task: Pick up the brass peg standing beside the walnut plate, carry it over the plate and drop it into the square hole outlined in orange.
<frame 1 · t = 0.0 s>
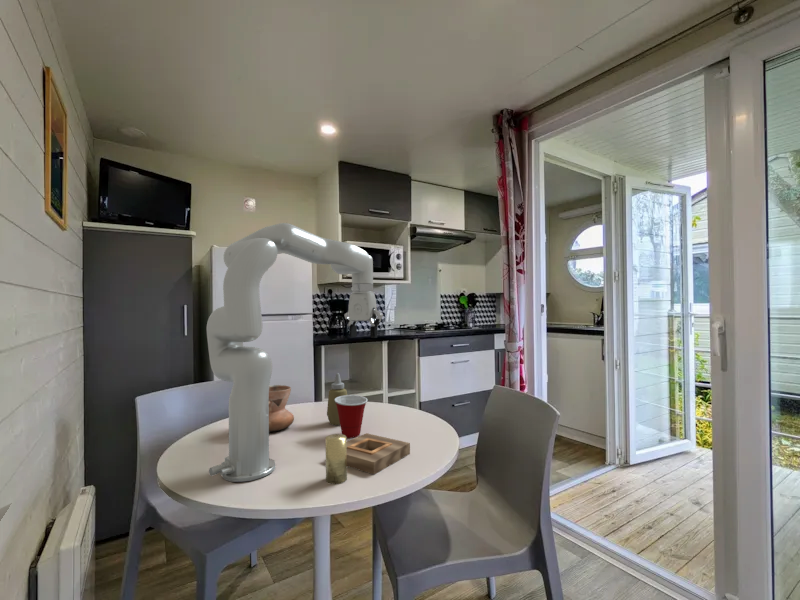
hand: (363, 337, 133), 31 cm above the table, tool pointing down, fingers open, 9 cm apart
brass peg: (336, 479, 89), on the table
plastic cup: (351, 435, 122), on the table
walnut plate: (370, 457, 103), on the table
squeeze bottle: (338, 424, 135), on the table
ceramic jug: (273, 428, 131), on the table
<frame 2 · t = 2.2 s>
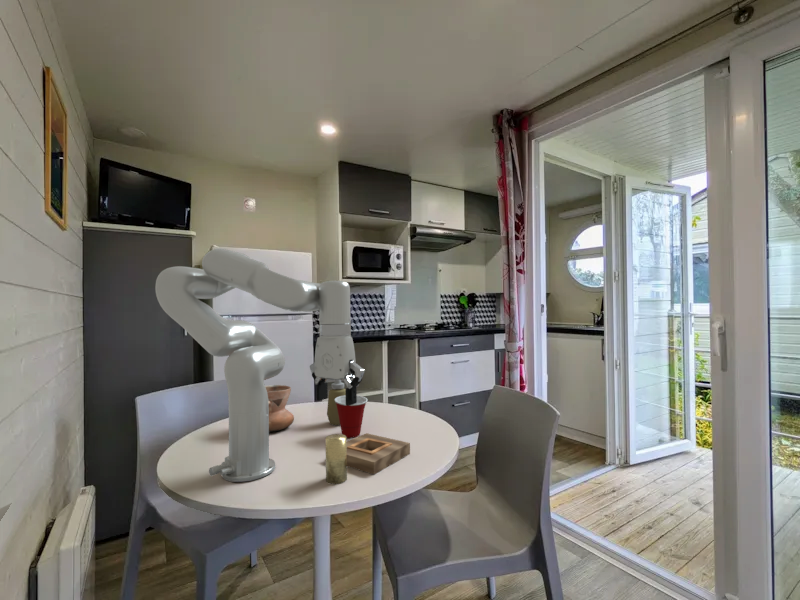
hand: (336, 401, 90), 18 cm above the table, tool pointing down, fingers open, 9 cm apart
nothing on the table moved.
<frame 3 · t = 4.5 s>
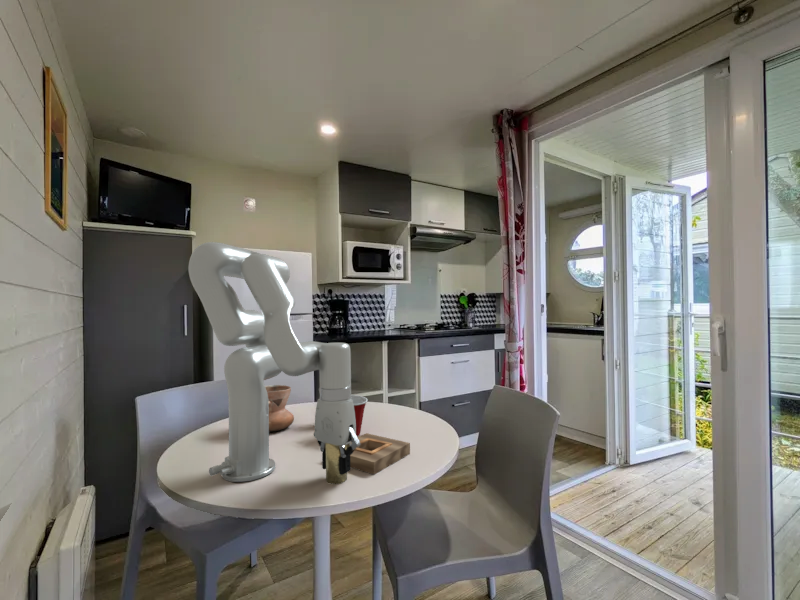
hand: (336, 469, 90), 2 cm above the table, tool pointing down, fingers closed on brass peg, 5 cm apart
brass peg: (336, 479, 89), on the table, touching gripper
everything else where it was.
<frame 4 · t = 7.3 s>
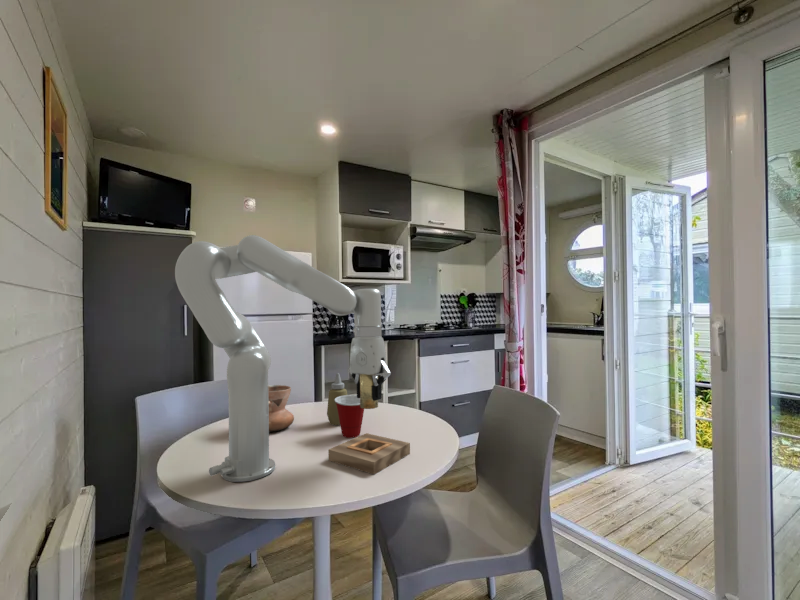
hand: (369, 397, 103), 16 cm above the table, tool pointing down, fingers closed on brass peg, 5 cm apart
brass peg: (369, 406, 103), point 14 cm above the table, touching gripper
everything else where it was.
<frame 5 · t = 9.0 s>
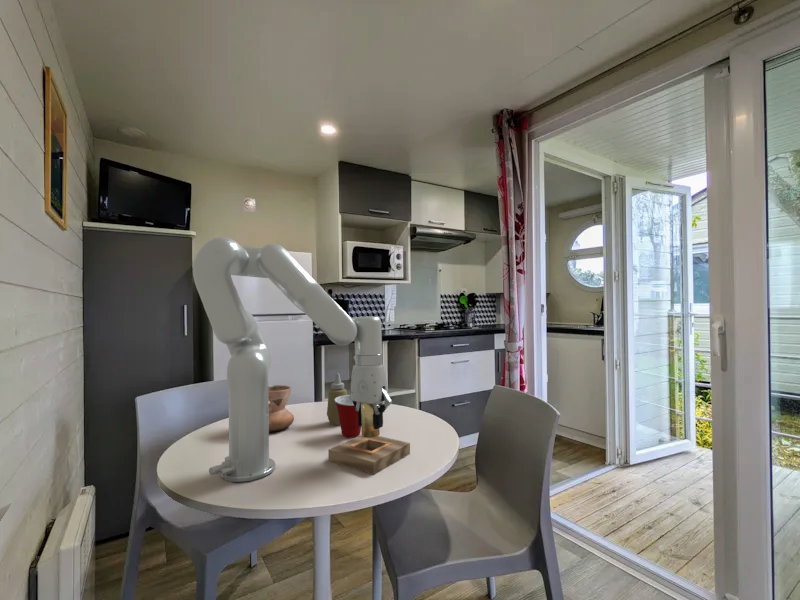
hand: (370, 425, 103), 9 cm above the table, tool pointing down, fingers closed on brass peg, 5 cm apart
brass peg: (370, 434, 103), point 6 cm above the table, touching gripper
everything else where it was.
when the fingers open (4 cm above the table, at t = 10.4 s): brass peg drops 2 cm, resting in walnut plate.
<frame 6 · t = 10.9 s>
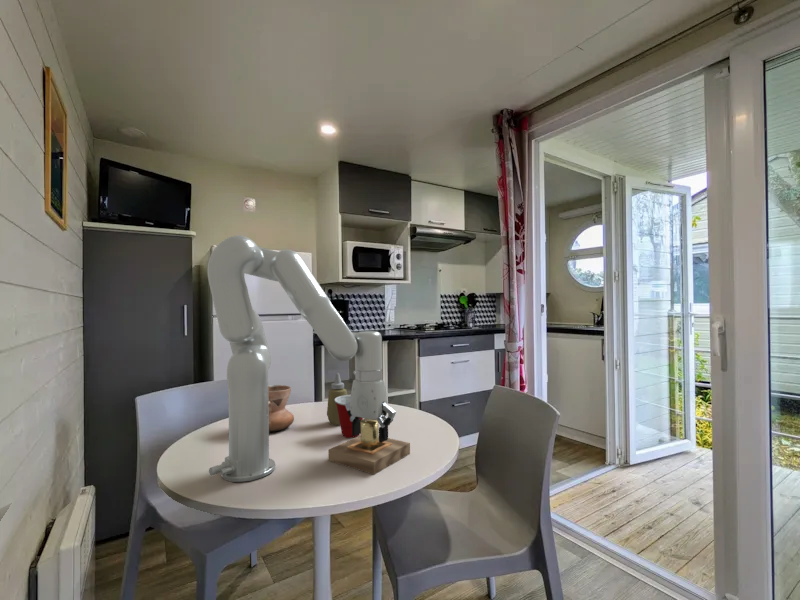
hand: (369, 437, 103), 5 cm above the table, tool pointing down, fingers open, 9 cm apart
brass peg: (369, 457, 103), resting in walnut plate
everything else where it was.
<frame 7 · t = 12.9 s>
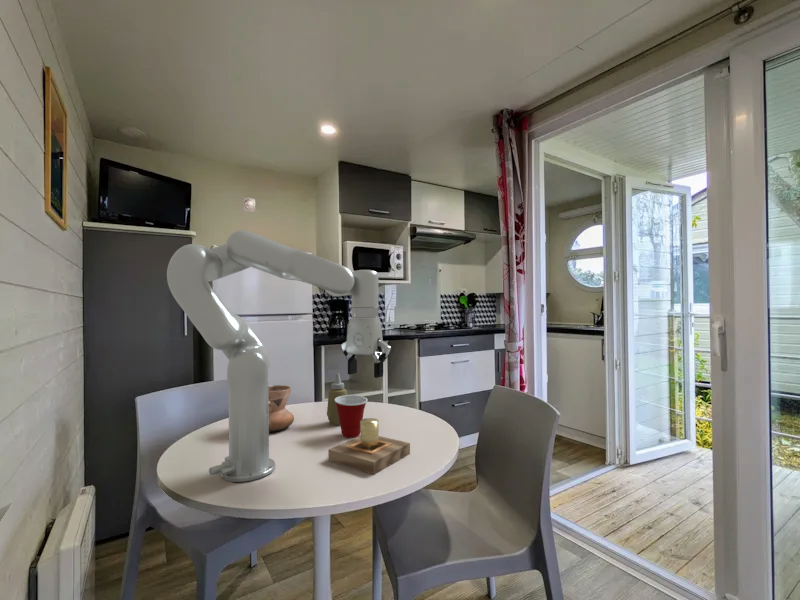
hand: (365, 375, 104), 22 cm above the table, tool pointing down, fingers open, 9 cm apart
nothing on the table moved.
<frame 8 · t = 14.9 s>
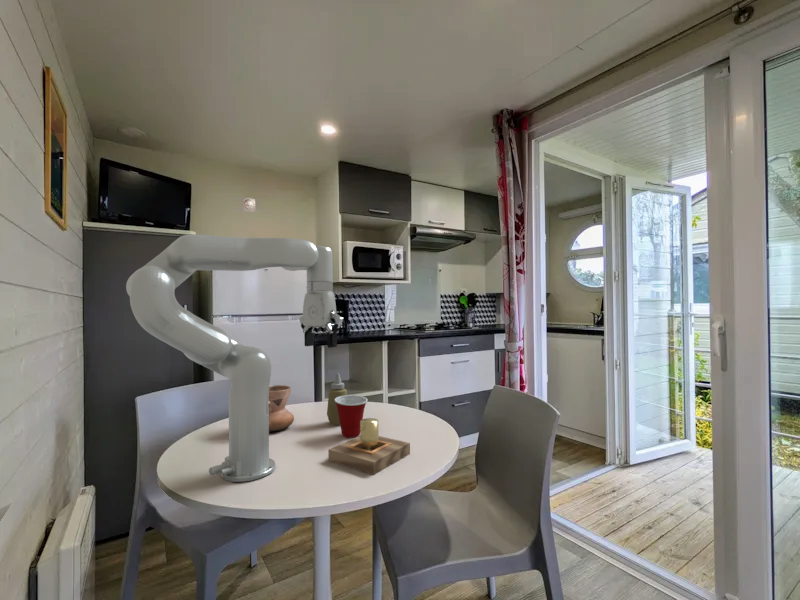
hand: (320, 346, 109), 30 cm above the table, tool pointing down, fingers open, 9 cm apart
nothing on the table moved.
at the end: brass peg 0.1 cm off-centre on the walnut plate, point 0.0 cm above the walnut plate's base; brass peg tilted 0°; the gripper is holding nothing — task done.
